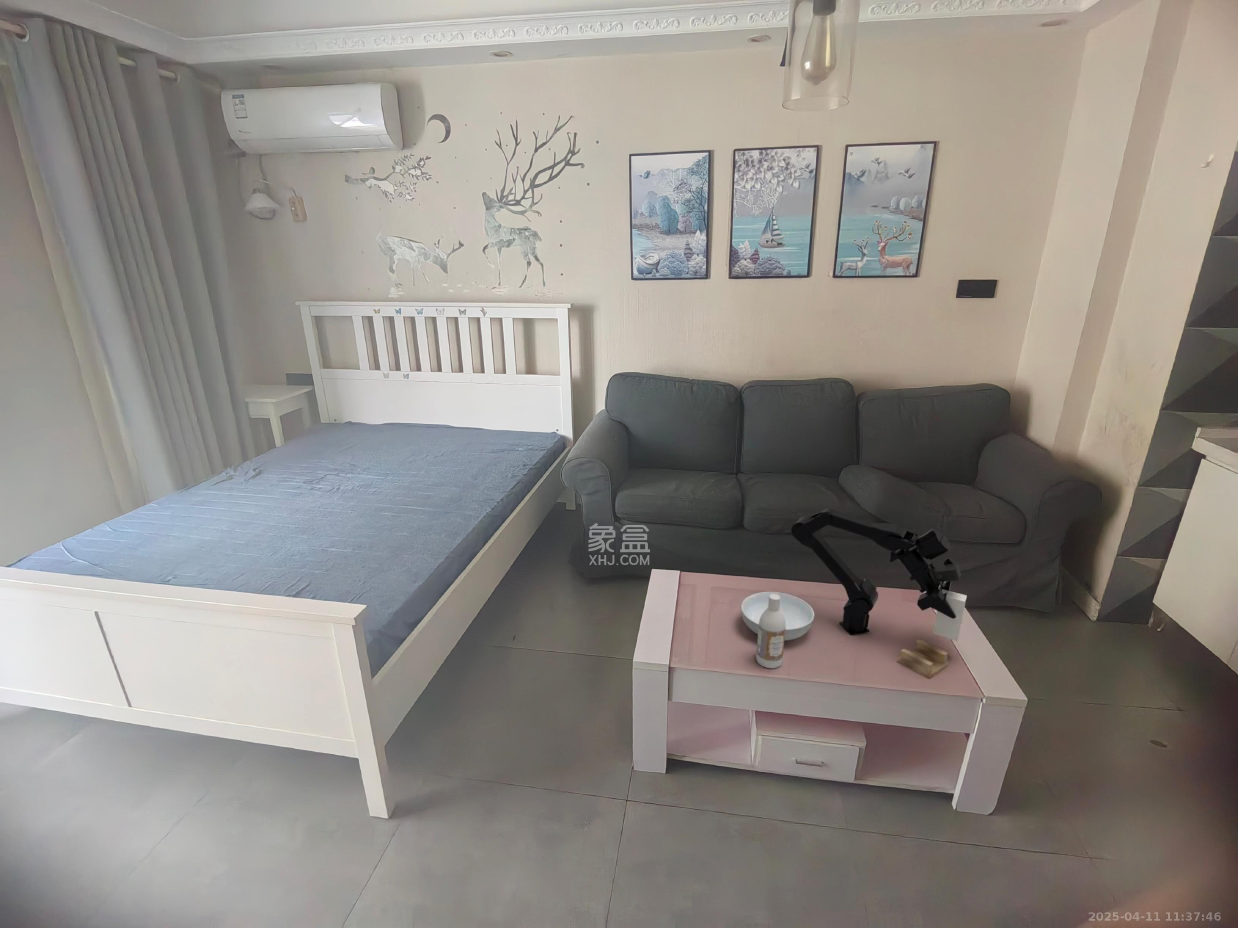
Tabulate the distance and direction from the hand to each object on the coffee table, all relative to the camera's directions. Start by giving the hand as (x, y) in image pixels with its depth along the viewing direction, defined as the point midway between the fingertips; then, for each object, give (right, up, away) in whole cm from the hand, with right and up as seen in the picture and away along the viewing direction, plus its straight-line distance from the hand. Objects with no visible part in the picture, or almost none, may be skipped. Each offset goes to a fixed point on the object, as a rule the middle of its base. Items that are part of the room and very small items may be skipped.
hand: (955, 614), depth 165 cm
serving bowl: (-44, -9, +17) cm, 48 cm away
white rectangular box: (-1, -6, +3) cm, 7 cm away
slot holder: (-8, -14, +1) cm, 16 cm away
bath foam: (-50, -14, +2) cm, 52 cm away
